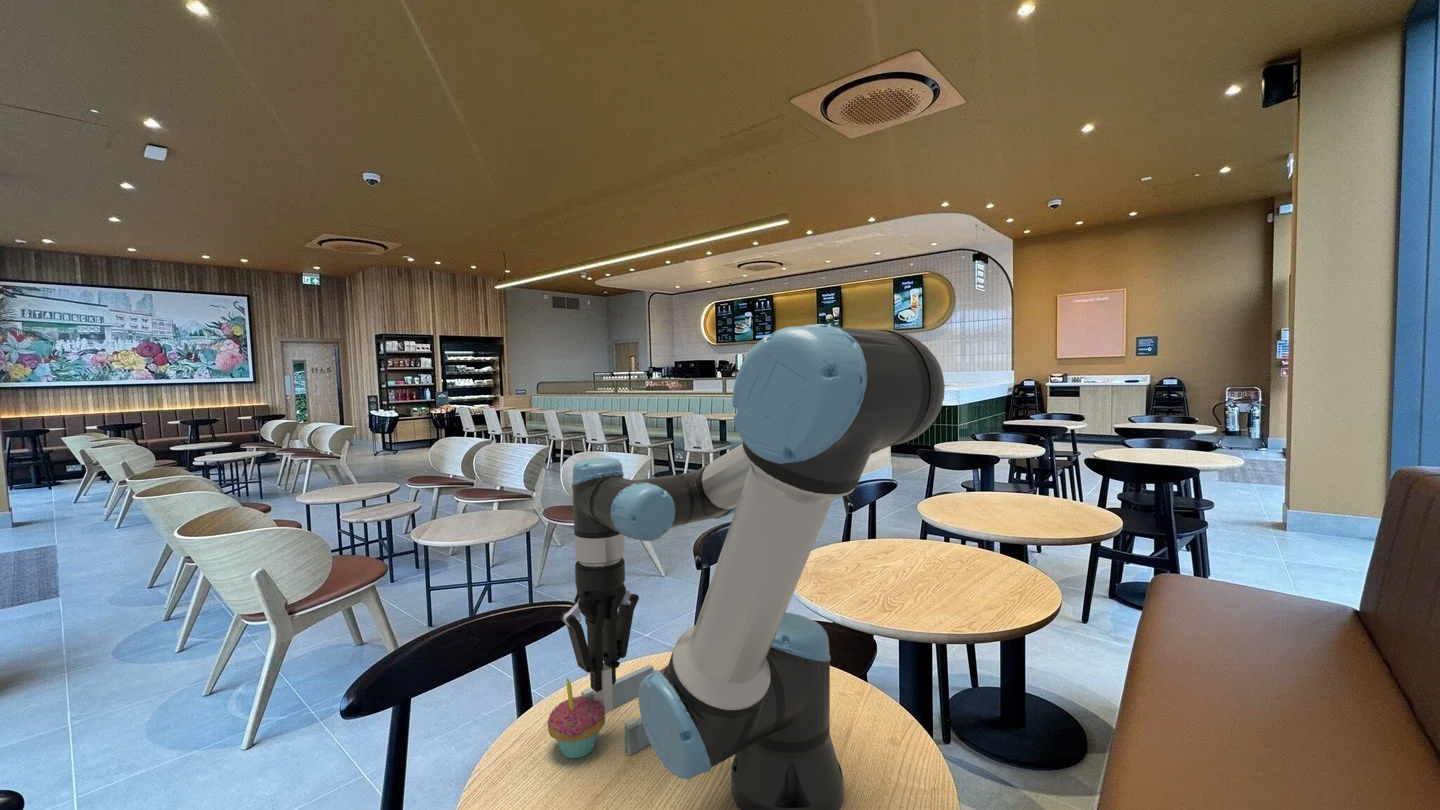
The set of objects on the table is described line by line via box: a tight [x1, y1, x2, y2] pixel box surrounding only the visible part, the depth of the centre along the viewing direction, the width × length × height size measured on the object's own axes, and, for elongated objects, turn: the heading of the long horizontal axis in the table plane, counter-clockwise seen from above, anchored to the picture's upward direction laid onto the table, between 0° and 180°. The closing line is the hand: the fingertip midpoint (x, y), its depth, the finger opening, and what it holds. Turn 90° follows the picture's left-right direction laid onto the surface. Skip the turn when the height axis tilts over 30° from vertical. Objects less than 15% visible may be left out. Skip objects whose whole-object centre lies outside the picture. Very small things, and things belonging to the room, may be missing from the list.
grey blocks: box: [580, 664, 655, 756], centre depth 96 cm, size 13×14×5 cm
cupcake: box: [547, 677, 606, 759], centre depth 88 cm, size 9×8×12 cm
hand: (603, 707), depth 91 cm, fingers closed
